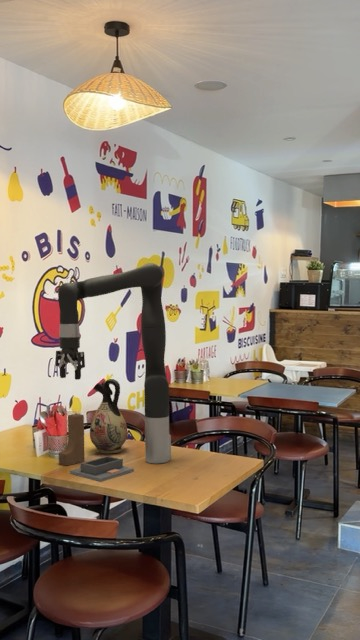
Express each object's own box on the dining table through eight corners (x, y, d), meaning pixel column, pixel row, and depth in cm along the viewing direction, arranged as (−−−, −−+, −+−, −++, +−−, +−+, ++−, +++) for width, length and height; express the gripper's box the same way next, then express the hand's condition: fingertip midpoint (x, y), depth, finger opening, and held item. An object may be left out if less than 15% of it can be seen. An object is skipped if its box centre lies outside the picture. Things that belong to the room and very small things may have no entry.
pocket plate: (103, 464, 232) (103, 453, 232) (133, 471, 222) (133, 460, 222) (70, 473, 220) (69, 462, 220) (100, 481, 210) (100, 469, 210)
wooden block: (65, 466, 230) (64, 418, 229) (58, 464, 233) (57, 416, 233) (84, 461, 237) (84, 414, 236) (77, 459, 240) (76, 413, 239)
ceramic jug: (81, 453, 249) (80, 379, 248) (105, 445, 263) (104, 375, 262) (115, 458, 240) (114, 381, 239) (138, 450, 254) (137, 377, 253)
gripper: (89, 335, 232) (90, 379, 232) (65, 334, 241) (65, 376, 241) (74, 336, 226) (74, 381, 226) (49, 335, 235) (50, 378, 236)
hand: (70, 378), depth 234 cm, fingers open, 8 cm apart
